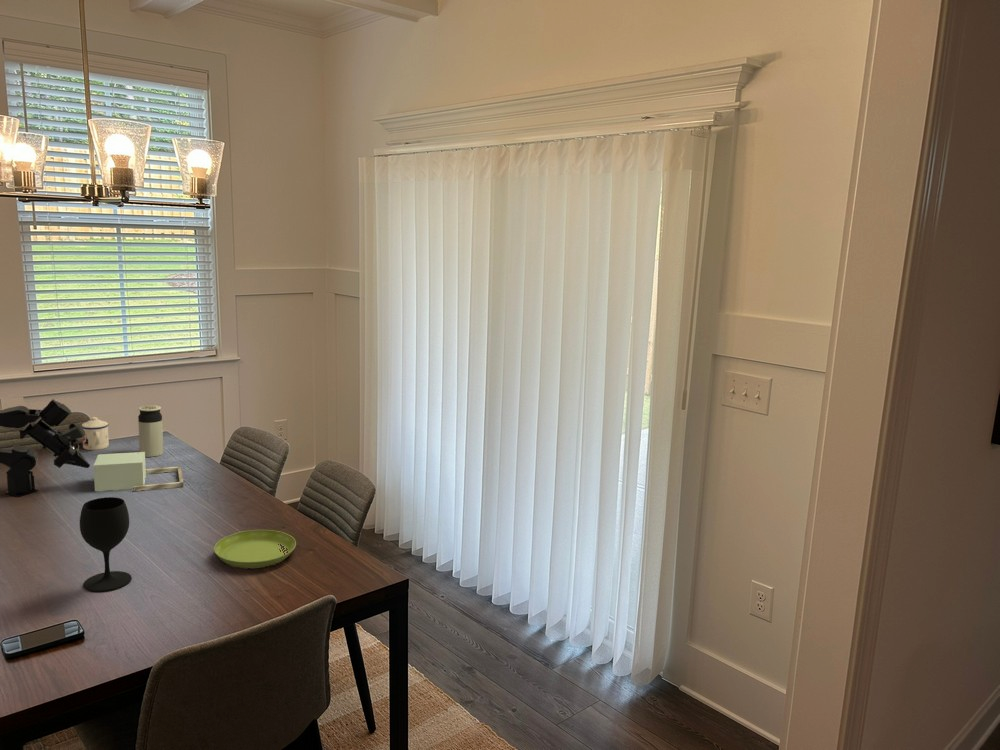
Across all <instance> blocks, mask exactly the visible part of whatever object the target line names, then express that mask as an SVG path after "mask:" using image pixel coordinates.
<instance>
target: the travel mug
mask: <svg viewBox="0 0 1000 750" xmlns="http://www.w3.org/2000/svg"><path fill="white" fill-rule="evenodd" d="M161 409H162V407H161V406H160V405H154V404H153V405H151V404H150V405H149V404H148V405H142V406H140V407H138V410H139V414H138V416H137V419H138V421H137V422H138V423H137V424H138V441H139V442H138V443H139V452H145V458H152V457H153V458H154V456H155V457H159V456H161V455H163V454H164V438H163V437H164V435H163V434H164V432H163V415H162V413H161Z"/></svg>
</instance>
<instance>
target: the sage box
mask: <svg viewBox="0 0 1000 750" xmlns="http://www.w3.org/2000/svg"><path fill="white" fill-rule="evenodd" d="M146 469H147V468H146V457H145V452H140V451H138V452H136V451H135V452H120V453H119V452H118V453H102V454H97V456H96V459H95V461H94V463H93V481H94V492H95V491H99V492H105V491H104V490H113V491H120V490H119V489H127V490H134V489H133V488H134V486H141V485H145V484H146V483H145V482H146V479H145V478H147V474H146ZM131 488H132V489H131ZM102 490H103V491H102Z"/></svg>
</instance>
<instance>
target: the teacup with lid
mask: <svg viewBox="0 0 1000 750" xmlns="http://www.w3.org/2000/svg"><path fill="white" fill-rule="evenodd" d="M81 426H82V428H83V430H84V431H85V433H84V434H85V435H84V436H82V437H81V438H82V448H83V449H84V450H88V451H98V450H103V449H106V448H108V447H109V444H110V443H109V441H110V440H109V422H107V421H105V420H101V419H99V418H98V417H97V416H93V417H91V419H89V420H88V421H86V422H83V423H82V424H81Z"/></svg>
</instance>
